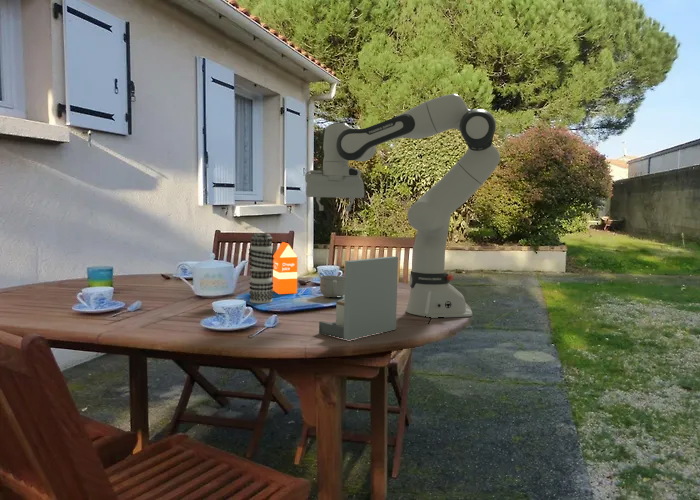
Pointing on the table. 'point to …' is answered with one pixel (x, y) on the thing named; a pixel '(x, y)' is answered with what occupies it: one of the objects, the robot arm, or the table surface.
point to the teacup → (332, 286)
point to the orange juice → (285, 270)
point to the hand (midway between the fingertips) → (334, 210)
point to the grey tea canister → (340, 313)
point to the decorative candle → (261, 268)
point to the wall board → (367, 299)
